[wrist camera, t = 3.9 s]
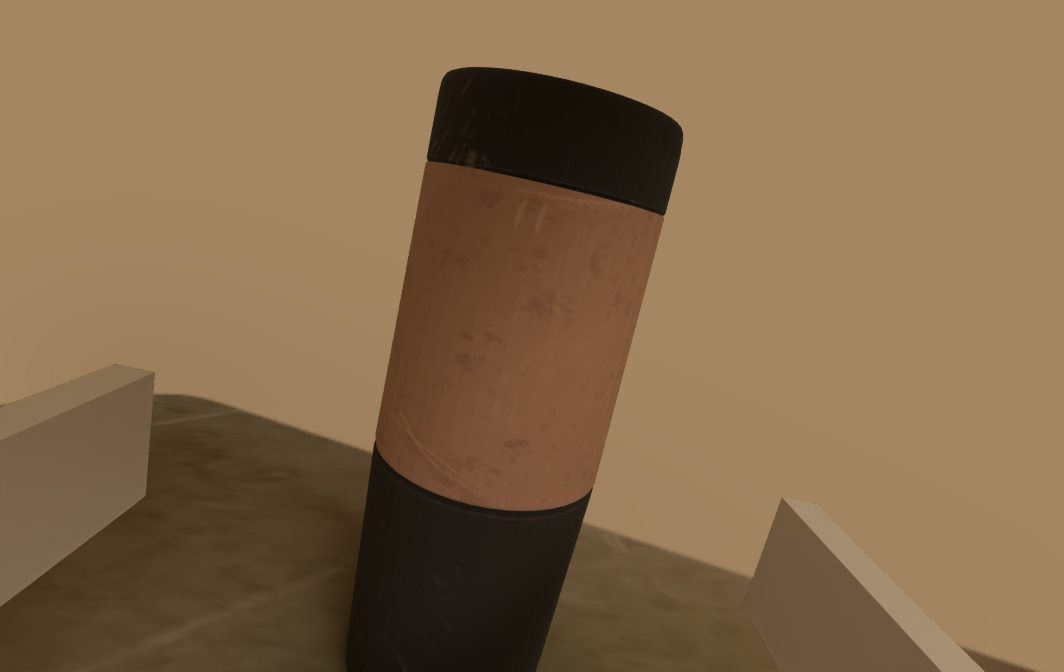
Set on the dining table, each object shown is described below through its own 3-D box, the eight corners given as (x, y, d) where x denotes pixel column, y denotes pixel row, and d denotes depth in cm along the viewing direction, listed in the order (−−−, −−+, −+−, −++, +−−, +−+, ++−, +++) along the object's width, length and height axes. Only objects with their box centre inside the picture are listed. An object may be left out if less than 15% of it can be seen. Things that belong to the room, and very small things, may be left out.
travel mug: (313, 610, 21) (398, 75, 17) (479, 569, 26) (579, 140, 22) (379, 796, 15) (534, 49, 11) (579, 701, 20) (744, 146, 16)
